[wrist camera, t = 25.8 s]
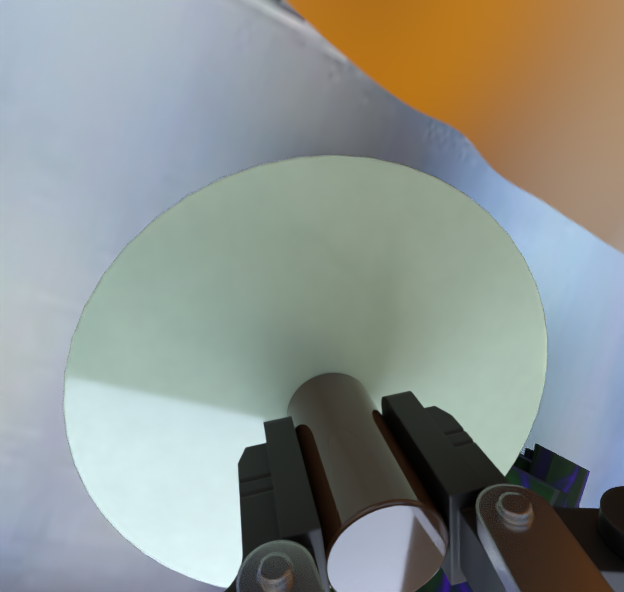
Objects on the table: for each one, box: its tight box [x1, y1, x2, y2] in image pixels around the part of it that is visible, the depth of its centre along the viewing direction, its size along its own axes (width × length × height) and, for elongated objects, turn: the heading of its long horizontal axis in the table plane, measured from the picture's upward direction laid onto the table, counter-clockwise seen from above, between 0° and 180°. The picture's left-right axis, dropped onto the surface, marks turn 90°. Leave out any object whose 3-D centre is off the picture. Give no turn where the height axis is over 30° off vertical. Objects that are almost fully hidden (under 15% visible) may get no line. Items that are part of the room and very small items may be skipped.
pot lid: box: [63, 154, 547, 592], centre depth 11 cm, size 14×14×6 cm
